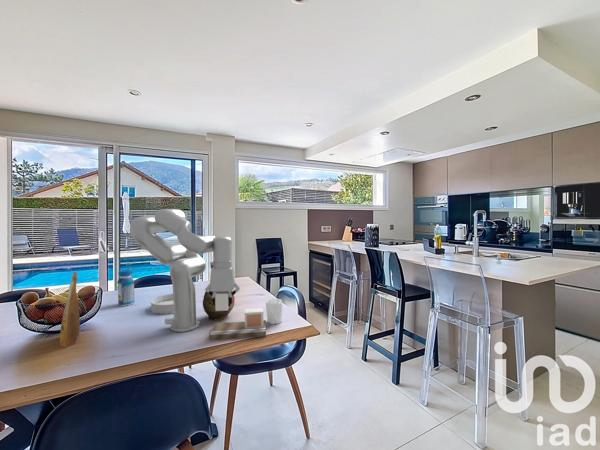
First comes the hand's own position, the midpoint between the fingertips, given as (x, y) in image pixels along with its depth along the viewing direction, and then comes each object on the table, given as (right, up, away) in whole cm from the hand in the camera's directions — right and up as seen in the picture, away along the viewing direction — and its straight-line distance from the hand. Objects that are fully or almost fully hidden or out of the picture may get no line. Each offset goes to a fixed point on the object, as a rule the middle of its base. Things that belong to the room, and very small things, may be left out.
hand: (222, 305), depth 127 cm
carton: (+14, -10, +2) cm, 17 cm away
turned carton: (0, -1, 0) cm, 1 cm away
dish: (-38, -11, +36) cm, 53 cm away
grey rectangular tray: (+7, -12, +1) cm, 14 cm away
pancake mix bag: (-62, -13, -5) cm, 63 cm away
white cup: (+22, -11, +12) cm, 27 cm away
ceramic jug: (-6, -11, +20) cm, 24 cm away
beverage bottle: (-68, -11, +42) cm, 81 cm away
